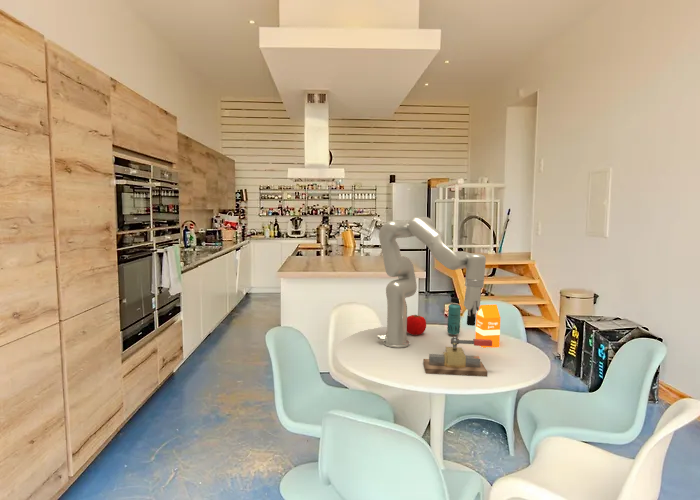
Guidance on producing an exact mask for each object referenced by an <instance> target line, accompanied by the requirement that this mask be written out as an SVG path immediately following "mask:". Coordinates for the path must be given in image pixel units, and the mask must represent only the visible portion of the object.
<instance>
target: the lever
mask: <svg viewBox="0 0 700 500" xmlns="http://www.w3.org/2000/svg"><path fill="white" fill-rule="evenodd" d="M450 344H452V345H453V344H455V345H457V346H458V345H460V344H461V345H473V346H475V347H477V346H478V347H480V346H492V340H487V339H475V338H472V340H469V339H468V340H467V339H466V340H465V339H460V338H458V336H455V335H452V337H451V338H450Z"/></svg>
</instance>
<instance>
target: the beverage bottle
mask: <svg viewBox="0 0 700 500" xmlns="http://www.w3.org/2000/svg"><path fill="white" fill-rule="evenodd" d="M450 302H451V303H450V304H449V305H448V312H447V313H448V314H447V324H446V325H447V326H446V327H447V329H446V330H447V334H449V335H459V334H460V333H461V310H462V309H461V305H460V304H459V302H460V299H459V298H458V297H451V299H450Z"/></svg>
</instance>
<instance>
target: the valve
mask: <svg viewBox="0 0 700 500" xmlns="http://www.w3.org/2000/svg"><path fill="white" fill-rule="evenodd" d="M428 354H429V355H428V359H429V364H430V365H435V366H447V367H453V368H463V367H478V368H480V361H481V358H480V356H479V355H466V354H465V352H464V349H463V348H462V347H460V346H459V347H458V344H457V345H455V344H452V346H445V351H444V352H443V353H440V354H439V353H428Z"/></svg>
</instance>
